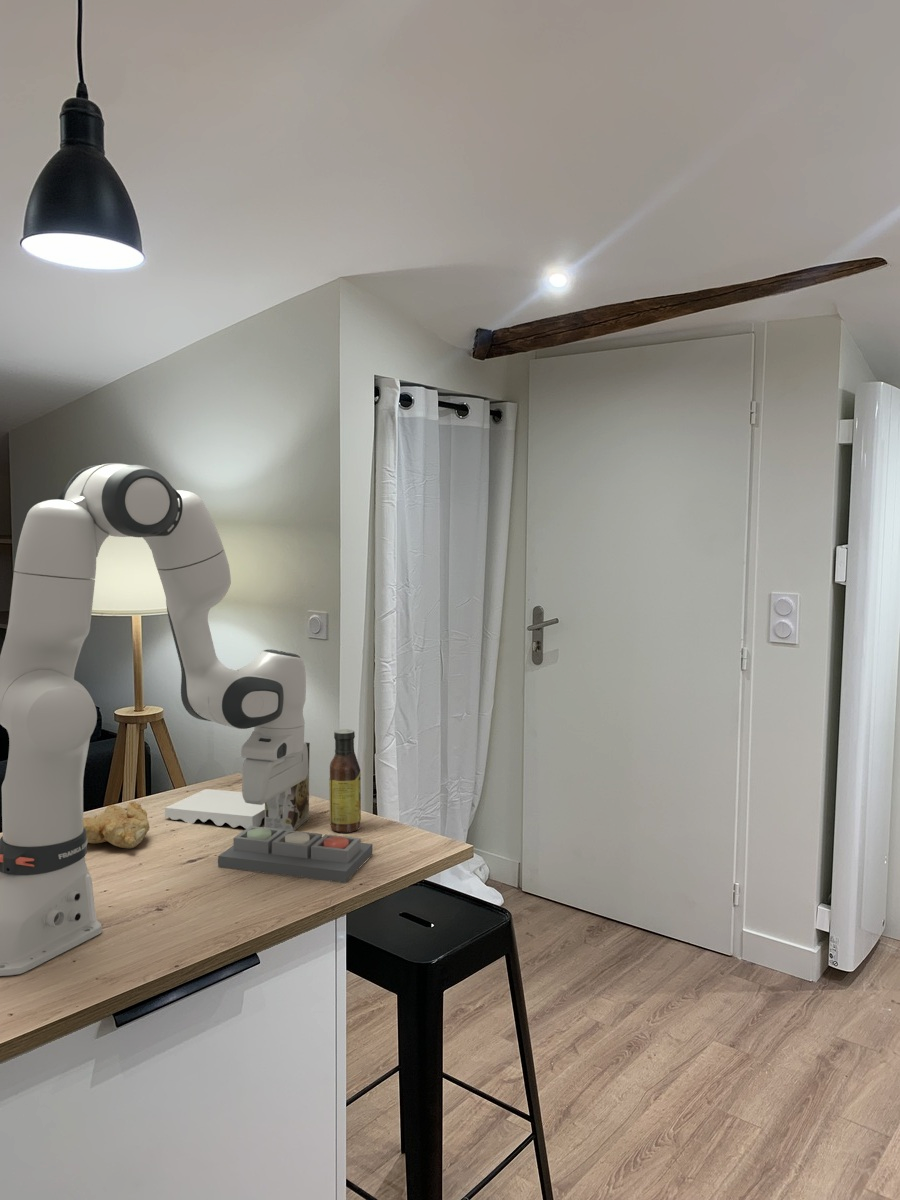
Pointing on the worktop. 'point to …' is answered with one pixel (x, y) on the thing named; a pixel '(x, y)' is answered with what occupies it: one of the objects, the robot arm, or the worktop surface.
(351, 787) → the sauce bottle
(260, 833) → the green button
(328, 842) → the red button
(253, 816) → the white scalloped slab
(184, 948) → the worktop surface
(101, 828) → the ginger root
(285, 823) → the coffee box
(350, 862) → the button panel
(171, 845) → the worktop surface
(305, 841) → the cream button
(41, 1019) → the worktop surface
